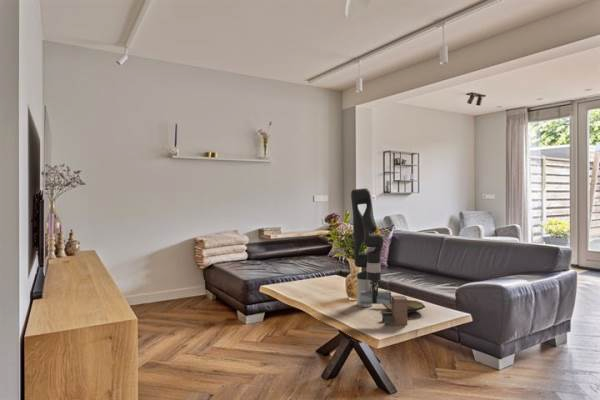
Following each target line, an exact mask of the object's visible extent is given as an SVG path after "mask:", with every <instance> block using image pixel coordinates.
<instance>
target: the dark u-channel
mask: <svg viewBox="0 0 600 400" xmlns="http://www.w3.org/2000/svg"><path fill="white" fill-rule="evenodd" d="M407 300H408V298H407V297H406V296H405V295H391V310H390V312H387V311H386V312H381V318H382V319H381V321H382V322H384V326H408V313H407Z"/></svg>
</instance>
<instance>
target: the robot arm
mask: <svg viewBox="0 0 600 400" xmlns="http://www.w3.org/2000/svg"><path fill="white" fill-rule="evenodd" d="M350 198H351V207H352V209H351V210H352V225H353V226H352V229H353V241H354V242H353V243H354V245H353V246H354V250H353V251H354V256H353V258H354V261H353V262H354V266H355V267H356V268H366V269H365V270H363V271H360V272H357V274H356V306H357V307H359V308H370V307H372V306H373V305H374V304H376V303H377V296H378V291H379V283H378V282H377V281H381V279H382V278H381V277H382V274H381V273H382V271H381V268H382V265H381V254H382V253H381V252H382V249H383V245H384V236H383V235H382V234H380V233H376V231H377V230H378V228H377V225H376V221H375V217H374V211H373V202H372V196H371V192H370V190H369V189H368V188H366V187H365V188H357V189H352V190H351V192H350ZM359 205H366V206H365V210H364V212H363V213H362V212H361V211H360V210H359V207H358V206H359ZM363 245H364V246H365V247H366V248H374V249H373V250H370V251H368V252H360V251H361V248H362V246H363ZM360 291H371V292H372V303H373V304H361V296H360ZM374 293H376V294H374Z"/></svg>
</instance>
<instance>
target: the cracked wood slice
mask: <svg viewBox="0 0 600 400" xmlns="http://www.w3.org/2000/svg"><path fill="white" fill-rule="evenodd" d="M382 306H384V307H385V308H386V309H388V310H389V311H391V304H382ZM425 308H426V306H425V305H424V303H423V302H421V301H418V300H412V299H407V314H411V313H414V312H417V311H421V310H423V309H425Z"/></svg>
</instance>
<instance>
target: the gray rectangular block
mask: <svg viewBox="0 0 600 400" xmlns="http://www.w3.org/2000/svg"><path fill="white" fill-rule="evenodd" d="M374 294H376V293H374ZM360 296H361V304H372V305H374V304H373V303H372V292H371V291H360ZM391 296H392V292H391V291H390V290H378V296H377V303H376V304H377V305H383V304H391Z"/></svg>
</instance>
